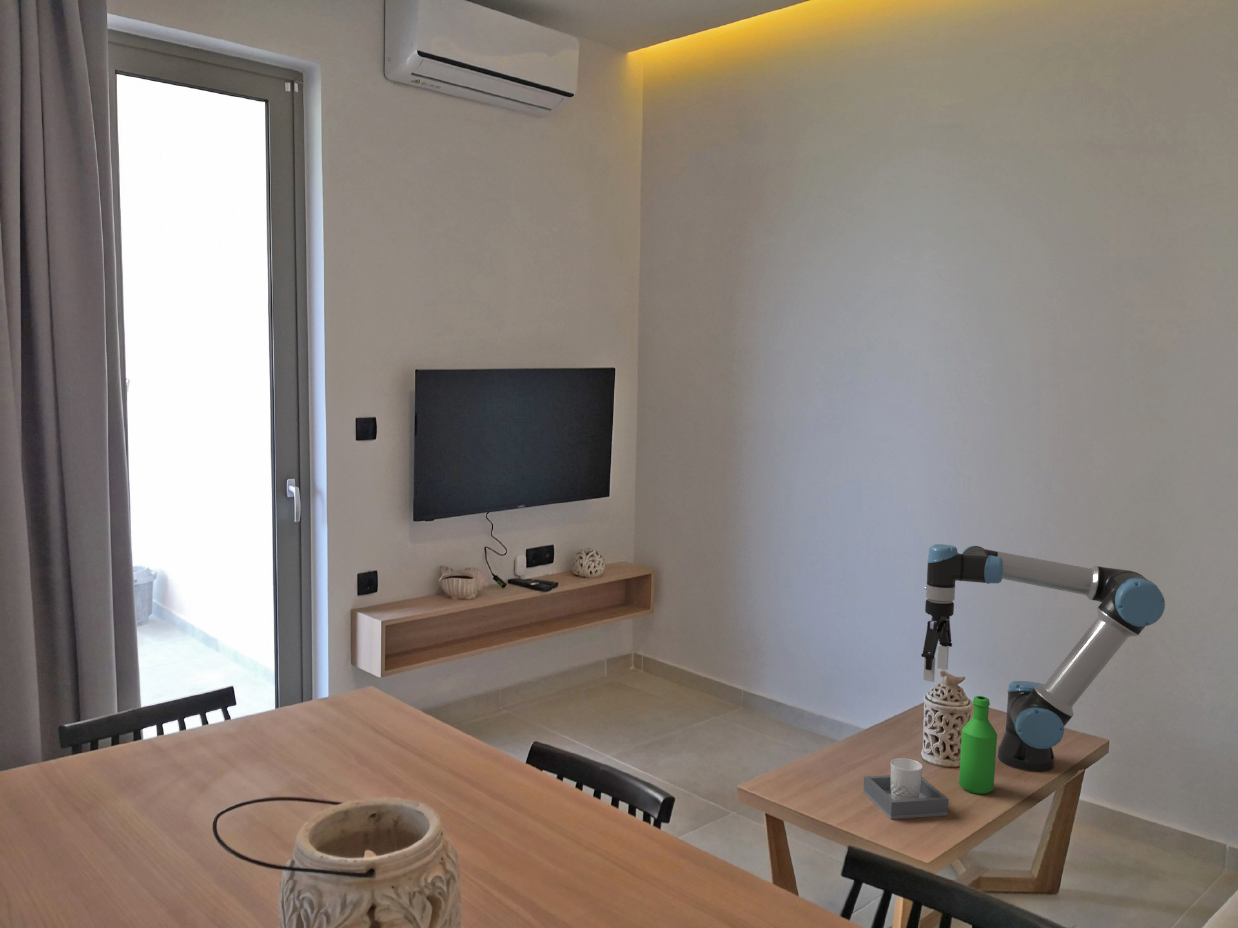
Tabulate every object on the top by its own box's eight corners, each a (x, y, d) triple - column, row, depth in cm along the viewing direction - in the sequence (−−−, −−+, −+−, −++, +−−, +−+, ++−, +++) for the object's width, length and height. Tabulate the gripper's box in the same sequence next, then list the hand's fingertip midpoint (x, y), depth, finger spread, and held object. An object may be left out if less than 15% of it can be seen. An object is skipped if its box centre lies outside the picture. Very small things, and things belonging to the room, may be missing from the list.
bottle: (960, 778, 260) (966, 690, 258) (994, 785, 256) (1000, 695, 254) (957, 790, 252) (962, 699, 250) (991, 798, 248) (997, 705, 246)
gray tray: (917, 788, 252) (917, 773, 252) (947, 815, 237) (948, 798, 237) (863, 792, 250) (864, 776, 249) (890, 819, 234) (891, 802, 234)
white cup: (922, 810, 238) (924, 771, 237) (889, 806, 240) (891, 768, 239) (918, 796, 246) (920, 759, 245) (887, 793, 247) (889, 756, 246)
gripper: (938, 590, 276) (934, 661, 278) (912, 606, 255) (908, 682, 257) (965, 594, 272) (960, 666, 273) (941, 610, 251) (936, 688, 253)
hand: (935, 674), depth 265 cm, fingers open, 13 cm apart
